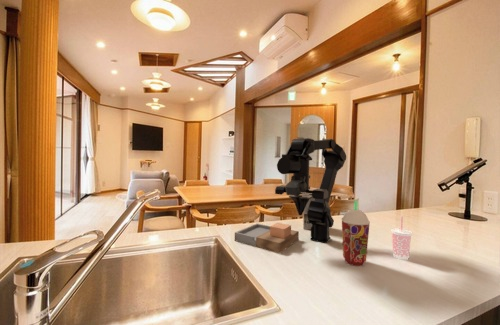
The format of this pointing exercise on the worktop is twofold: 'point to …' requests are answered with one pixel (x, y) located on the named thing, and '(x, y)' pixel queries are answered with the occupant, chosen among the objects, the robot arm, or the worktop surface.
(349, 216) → the smoothie
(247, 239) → the box
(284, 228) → the salmon pink block
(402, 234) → the beverage cup
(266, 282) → the worktop surface
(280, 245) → the board
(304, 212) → the coffee box
